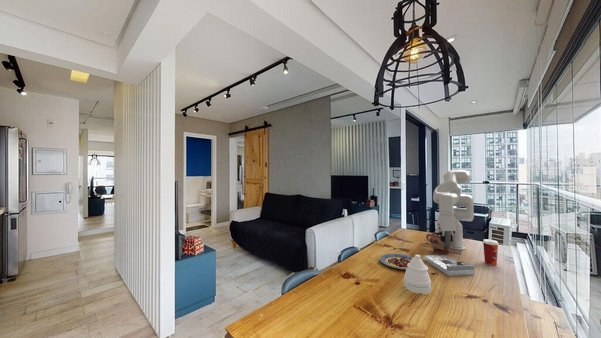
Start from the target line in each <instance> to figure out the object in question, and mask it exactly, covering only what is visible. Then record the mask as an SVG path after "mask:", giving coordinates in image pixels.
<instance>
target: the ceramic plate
mask: <svg viewBox="0 0 601 338" xmlns="http://www.w3.org/2000/svg"><path fill="white" fill-rule="evenodd" d="M393 257H395V258H393ZM413 257H414V256H412V255H408V254H403V253H385V254H382V255H381V256H379V260H380V262H381V263H382V264H384V265H386V266H388V267H391V268H394V269H397V270H398V269H399V270H406V269H407V268H401V267H407V264H408V263H410V261H411V260H412V258H413ZM388 258H391V259H388ZM397 258H400V259H397ZM387 259H388V263H389V264H390V263H392V264H393V265H394V264H395V265H396V266H399V267H396V266H392V265H389V264H388V263H387V262H386V260H387ZM408 260H410V261H408Z"/></svg>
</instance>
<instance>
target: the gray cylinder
mask: <svg viewBox="0 0 601 338" xmlns="http://www.w3.org/2000/svg"><path fill="white" fill-rule="evenodd" d="M444 236H445V242H443V247H447V248H449V249H451V248H450V247H451V231H445V233H444Z"/></svg>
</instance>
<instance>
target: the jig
mask: <svg viewBox="0 0 601 338" xmlns="http://www.w3.org/2000/svg"><path fill="white" fill-rule="evenodd" d="M423 261H424V262H426V261H427V263H428V264H429V263H430V264H429V265H431V266H433V267H434V268H435V269H437V270H439V271H440V272H442V273H444V274H445V275H446V276H449V277H455V276H457V277H459V276H475V265H474V264H466V263H465V262H464V261H460V260H459V261H458V260H457V259H455V258H453V257H451V256H449V255H447V254H433V255H431V254H430V255H427V254H426V255H423Z"/></svg>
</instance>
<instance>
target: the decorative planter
mask: <svg viewBox="0 0 601 338" xmlns="http://www.w3.org/2000/svg"><path fill="white" fill-rule="evenodd" d="M425 236H426V237H425V238H426V240H427V241H428V242H429V243H430V245H431V246H432V249H433V251H434V252H435V253H436V254H440V255H447V254H449V253H450V248H447V247H443V242H442V241H441V239H440V234H439V233H438V232H437V231H435V232H432V233H427V234H426V235H425ZM429 237H430V238H429ZM452 245H453V243H452V242H451V246H452Z"/></svg>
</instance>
